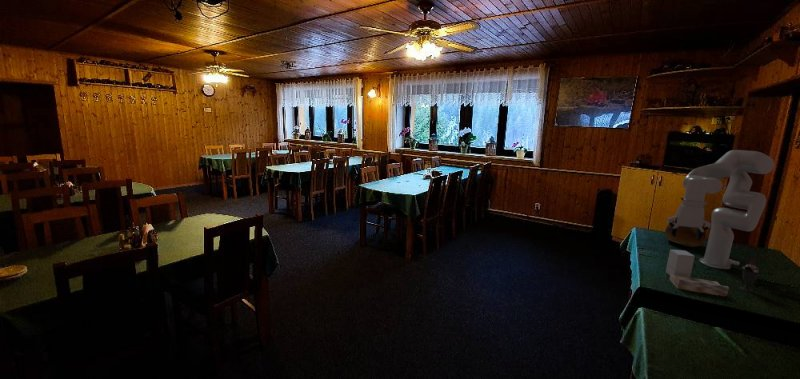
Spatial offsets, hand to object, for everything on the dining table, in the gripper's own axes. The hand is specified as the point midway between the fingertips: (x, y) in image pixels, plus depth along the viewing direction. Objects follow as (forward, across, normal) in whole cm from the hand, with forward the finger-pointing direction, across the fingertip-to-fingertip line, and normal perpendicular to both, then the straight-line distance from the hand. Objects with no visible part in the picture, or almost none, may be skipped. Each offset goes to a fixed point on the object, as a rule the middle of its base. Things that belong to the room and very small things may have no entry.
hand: (685, 237), depth 166 cm
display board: (+20, -4, +11) cm, 23 cm away
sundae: (+20, -25, +4) cm, 33 cm away
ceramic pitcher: (+20, -21, -57) cm, 64 cm away
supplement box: (+21, 0, 0) cm, 21 cm away
